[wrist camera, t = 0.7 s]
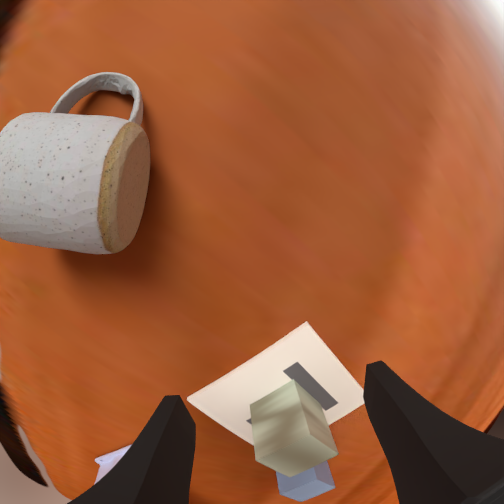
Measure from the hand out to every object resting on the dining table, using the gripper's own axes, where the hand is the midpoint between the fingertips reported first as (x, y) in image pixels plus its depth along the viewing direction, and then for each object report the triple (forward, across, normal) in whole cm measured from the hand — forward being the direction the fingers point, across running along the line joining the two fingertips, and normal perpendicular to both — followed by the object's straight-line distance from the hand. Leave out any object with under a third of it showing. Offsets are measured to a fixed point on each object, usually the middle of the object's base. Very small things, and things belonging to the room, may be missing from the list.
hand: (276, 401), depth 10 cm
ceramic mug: (+11, +9, -10) cm, 17 cm away
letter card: (+9, 0, +12) cm, 15 cm away
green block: (+9, 0, +12) cm, 15 cm away
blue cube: (+9, -1, +24) cm, 25 cm away
